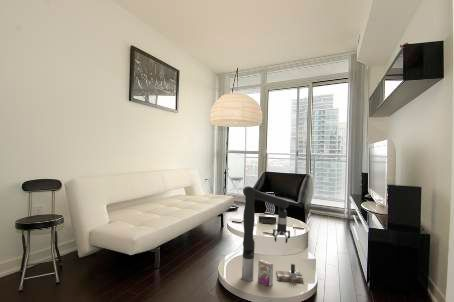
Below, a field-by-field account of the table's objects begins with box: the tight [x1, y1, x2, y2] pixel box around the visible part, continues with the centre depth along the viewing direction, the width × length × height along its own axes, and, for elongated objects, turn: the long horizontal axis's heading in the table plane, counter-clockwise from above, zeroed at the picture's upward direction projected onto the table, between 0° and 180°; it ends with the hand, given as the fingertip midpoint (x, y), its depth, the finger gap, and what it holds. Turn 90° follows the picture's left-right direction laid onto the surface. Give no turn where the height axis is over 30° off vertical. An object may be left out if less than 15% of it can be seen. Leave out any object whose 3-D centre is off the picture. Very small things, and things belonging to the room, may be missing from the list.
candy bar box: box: [257, 259, 274, 287], centre depth 187 cm, size 11×5×16 cm, turn 44°
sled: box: [288, 263, 296, 277], centre depth 198 cm, size 5×12×11 cm, turn 174°
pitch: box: [275, 268, 305, 284], centre depth 199 cm, size 20×16×4 cm
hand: (280, 242), depth 199 cm, fingers open, 8 cm apart
